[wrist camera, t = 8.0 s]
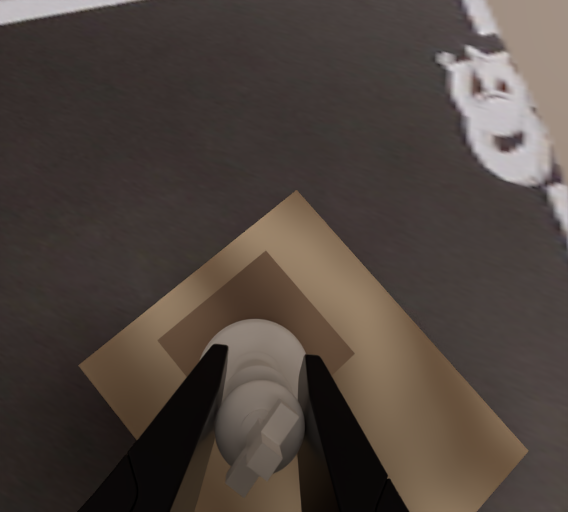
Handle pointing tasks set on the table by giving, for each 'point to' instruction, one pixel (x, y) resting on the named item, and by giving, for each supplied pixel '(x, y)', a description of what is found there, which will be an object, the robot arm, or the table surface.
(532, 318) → the table surface
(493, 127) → the table surface
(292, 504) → the board
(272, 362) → the chess piece
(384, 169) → the table surface
